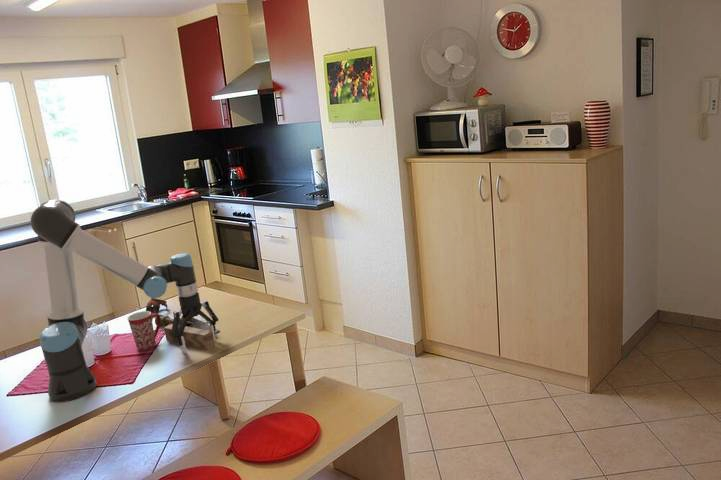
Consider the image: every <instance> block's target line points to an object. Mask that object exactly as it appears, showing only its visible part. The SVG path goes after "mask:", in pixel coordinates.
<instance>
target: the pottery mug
mask: <svg viewBox="0 0 721 480" xmlns="http://www.w3.org/2000/svg"><path fill="white" fill-rule="evenodd" d="M161 306H164V307H165V308H166V309H165V310H166V311H168V308H169V307H168V304H167V300H163V299H160V298H151V297H150V300H149V301H148V302H147V304H146V308H145V311H149V312H151V315H152V314H154V313H156V314H158V315H159V312H160V308H161Z"/></svg>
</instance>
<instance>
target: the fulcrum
mask: <svg viewBox="0 0 721 480" xmlns="http://www.w3.org/2000/svg"><path fill="white" fill-rule="evenodd" d="M192 323H193V324H192V326H193V327H192V328H197V329H203V330H208V331H209V329H208V324H210V323H209V322H207V321H206V320H205V319H204V318H202V317H201V316H200V315H198V316H196V317H193V318H192ZM215 329H216V331H215V332H214V333H215V334H217V333H220V332H221V331H220V329H217V328H216V327H215Z"/></svg>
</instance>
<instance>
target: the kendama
mask: <svg viewBox="0 0 721 480" xmlns="http://www.w3.org/2000/svg"><path fill="white" fill-rule="evenodd" d="M158 315H159V316H160V318H161V324H160V327H161V326H163V327H166V326H168V325H170V324H173V320H174V318H171V317H170V316H169V315H165V316H164V315H163V314H158ZM182 316H183V314H181V317H180V321H179V325H180V323H181V320H182ZM157 322H158V319H157V316H155V319H154V324H155V325H156V326H157ZM187 325H189V326H191V325H193V323H192V318H191V319H189V321H188V322H187V324H186V326H187Z"/></svg>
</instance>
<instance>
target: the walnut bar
mask: <svg viewBox="0 0 721 480" xmlns="http://www.w3.org/2000/svg"><path fill="white" fill-rule="evenodd" d="M172 326H173V324H170V325H168V326H163V330H164V331H163V332H164V336H165V341H167V342H172V343H175V344H178V343H177V338H173V337H171V331H172ZM178 328H179V327H178ZM182 337H184V341H185V346H189V347H196V348H200V349H203V350H208V349H210V348H212V347H214V346H216V344H215V342H216V341H214V337H213V332H212V331H208V330H203V329H197V328H193V327H191V326H186V327H185V329H184V332H183V334H182Z"/></svg>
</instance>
